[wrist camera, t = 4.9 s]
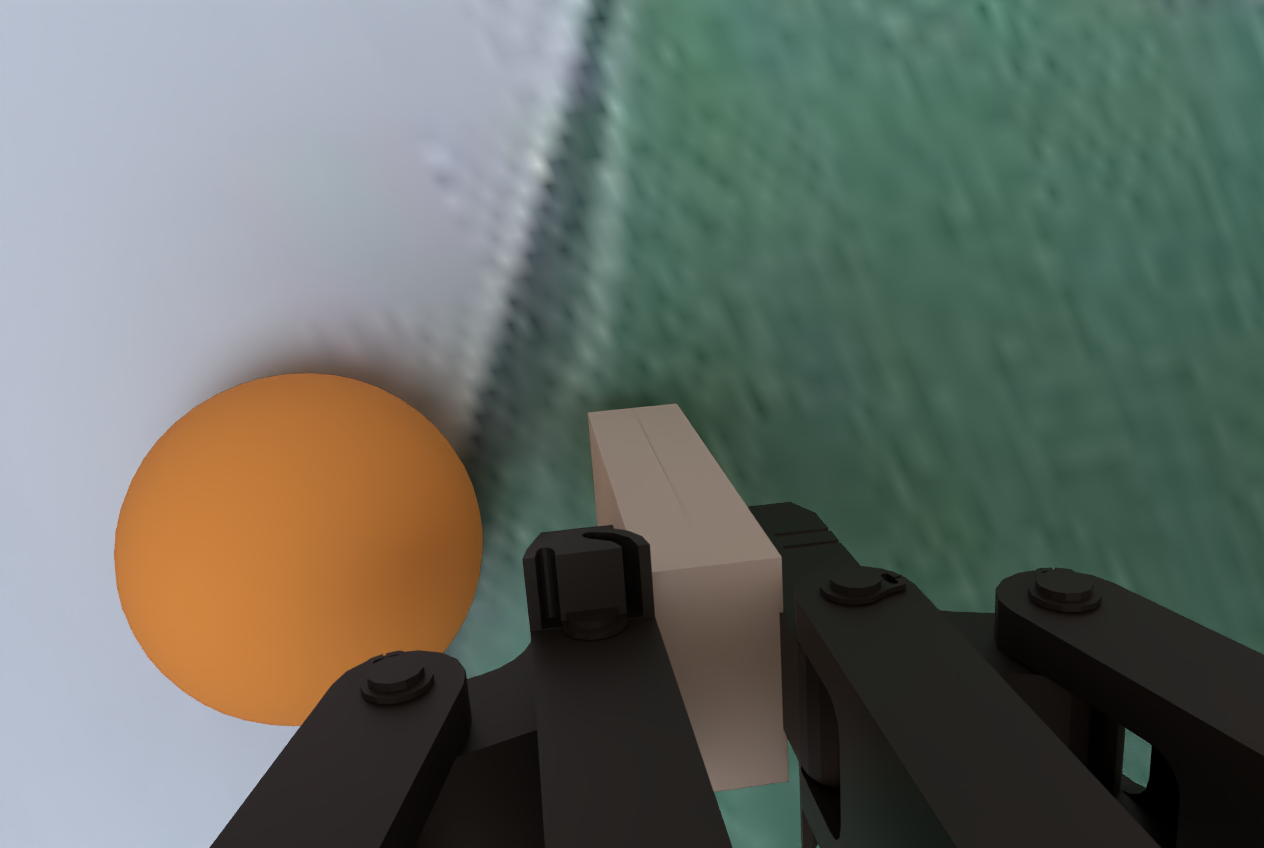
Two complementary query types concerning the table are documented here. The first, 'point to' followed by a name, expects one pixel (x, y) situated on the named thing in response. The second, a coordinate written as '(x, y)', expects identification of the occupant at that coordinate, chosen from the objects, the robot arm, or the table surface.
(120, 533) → the ball
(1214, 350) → the table surface
